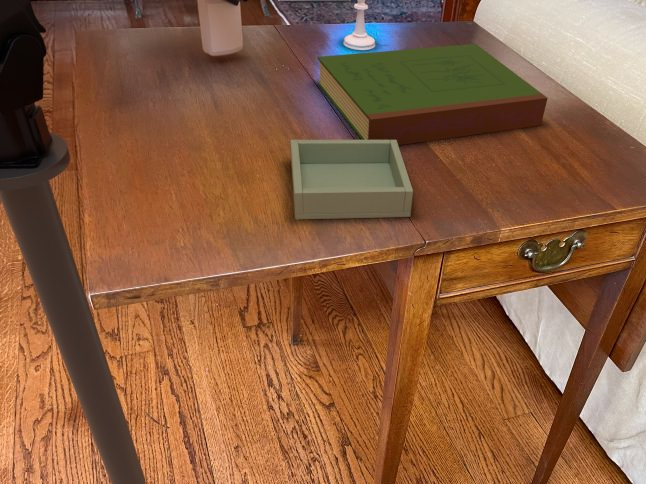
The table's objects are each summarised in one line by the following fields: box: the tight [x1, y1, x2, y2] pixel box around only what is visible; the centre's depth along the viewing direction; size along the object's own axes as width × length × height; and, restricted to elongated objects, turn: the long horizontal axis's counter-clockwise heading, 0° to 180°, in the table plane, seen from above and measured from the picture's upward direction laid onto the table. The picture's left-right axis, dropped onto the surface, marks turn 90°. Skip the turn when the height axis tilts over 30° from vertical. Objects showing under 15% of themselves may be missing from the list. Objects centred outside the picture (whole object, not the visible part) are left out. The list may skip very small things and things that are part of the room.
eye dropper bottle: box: [197, 0, 244, 57], centre depth 86 cm, size 4×6×12 cm
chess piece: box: [343, 0, 376, 51], centre depth 96 cm, size 5×5×10 cm
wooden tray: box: [290, 139, 414, 221], centre depth 67 cm, size 12×11×3 cm
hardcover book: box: [317, 43, 549, 146], centre depth 84 cm, size 25×19×4 cm
